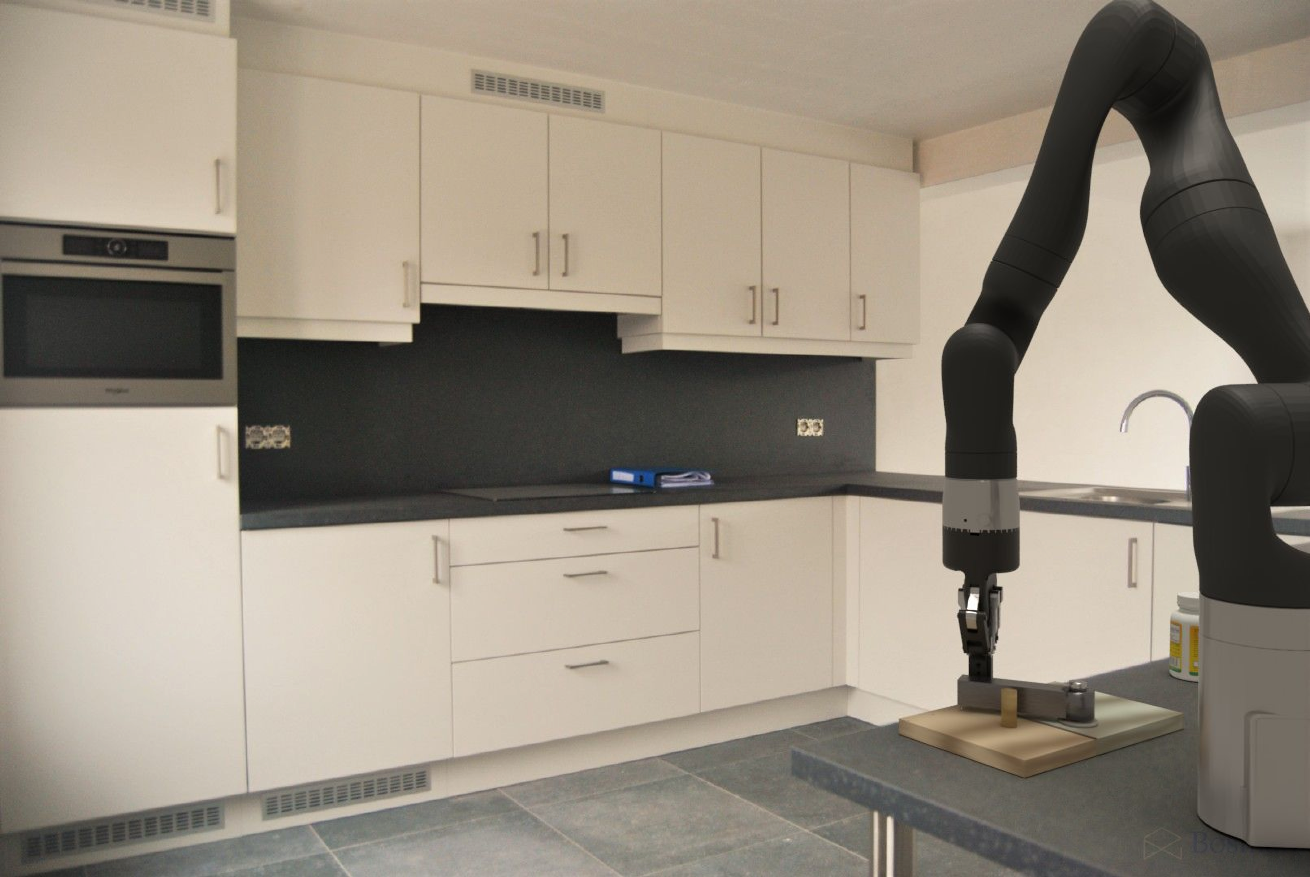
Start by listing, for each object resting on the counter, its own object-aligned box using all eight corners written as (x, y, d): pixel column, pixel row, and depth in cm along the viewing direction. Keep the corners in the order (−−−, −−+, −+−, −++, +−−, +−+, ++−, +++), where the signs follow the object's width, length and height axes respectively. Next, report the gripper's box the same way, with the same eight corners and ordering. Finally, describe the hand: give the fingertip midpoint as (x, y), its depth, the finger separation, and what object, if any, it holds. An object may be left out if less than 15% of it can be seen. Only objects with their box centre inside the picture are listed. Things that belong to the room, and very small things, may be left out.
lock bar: (1096, 714, 100) (1096, 679, 100) (1093, 722, 98) (1093, 687, 98) (963, 698, 106) (963, 665, 106) (956, 705, 104) (956, 672, 104)
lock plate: (1183, 728, 103) (1183, 678, 102) (1024, 777, 89) (1024, 720, 89) (1055, 694, 115) (1055, 650, 115) (898, 733, 102) (898, 683, 101)
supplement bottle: (1161, 676, 122) (1161, 594, 122) (1182, 668, 125) (1182, 589, 125) (1209, 685, 118) (1210, 600, 118) (1229, 677, 121) (1230, 595, 121)
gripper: (954, 513, 114) (954, 672, 115) (930, 528, 102) (930, 704, 103) (1027, 516, 111) (1027, 679, 111) (1011, 531, 99) (1010, 713, 99)
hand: (980, 691), depth 107 cm, fingers closed
